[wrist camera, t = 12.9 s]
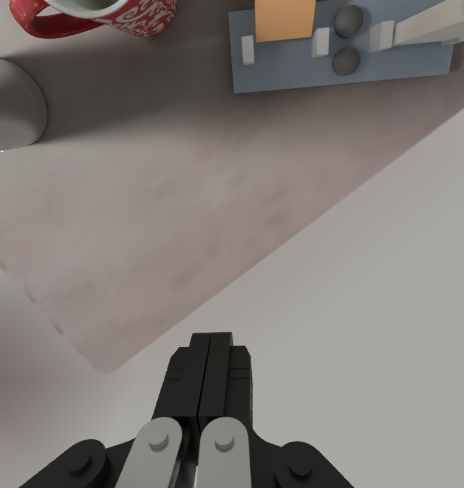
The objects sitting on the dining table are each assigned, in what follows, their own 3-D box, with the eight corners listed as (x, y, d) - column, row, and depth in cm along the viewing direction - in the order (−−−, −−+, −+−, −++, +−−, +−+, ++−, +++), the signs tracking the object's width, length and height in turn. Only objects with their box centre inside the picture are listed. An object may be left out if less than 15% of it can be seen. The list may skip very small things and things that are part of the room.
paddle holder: (234, 93, 35) (232, 93, 30) (229, 16, 32) (225, 3, 28) (438, 75, 33) (467, 72, 29) (452, -9, 30) (487, -27, 26)
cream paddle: (388, 48, 29) (477, 18, 18) (391, 24, 29) (485, -22, 17) (446, 42, 29) (576, 8, 17) (450, 18, 28) (588, -34, 17)
